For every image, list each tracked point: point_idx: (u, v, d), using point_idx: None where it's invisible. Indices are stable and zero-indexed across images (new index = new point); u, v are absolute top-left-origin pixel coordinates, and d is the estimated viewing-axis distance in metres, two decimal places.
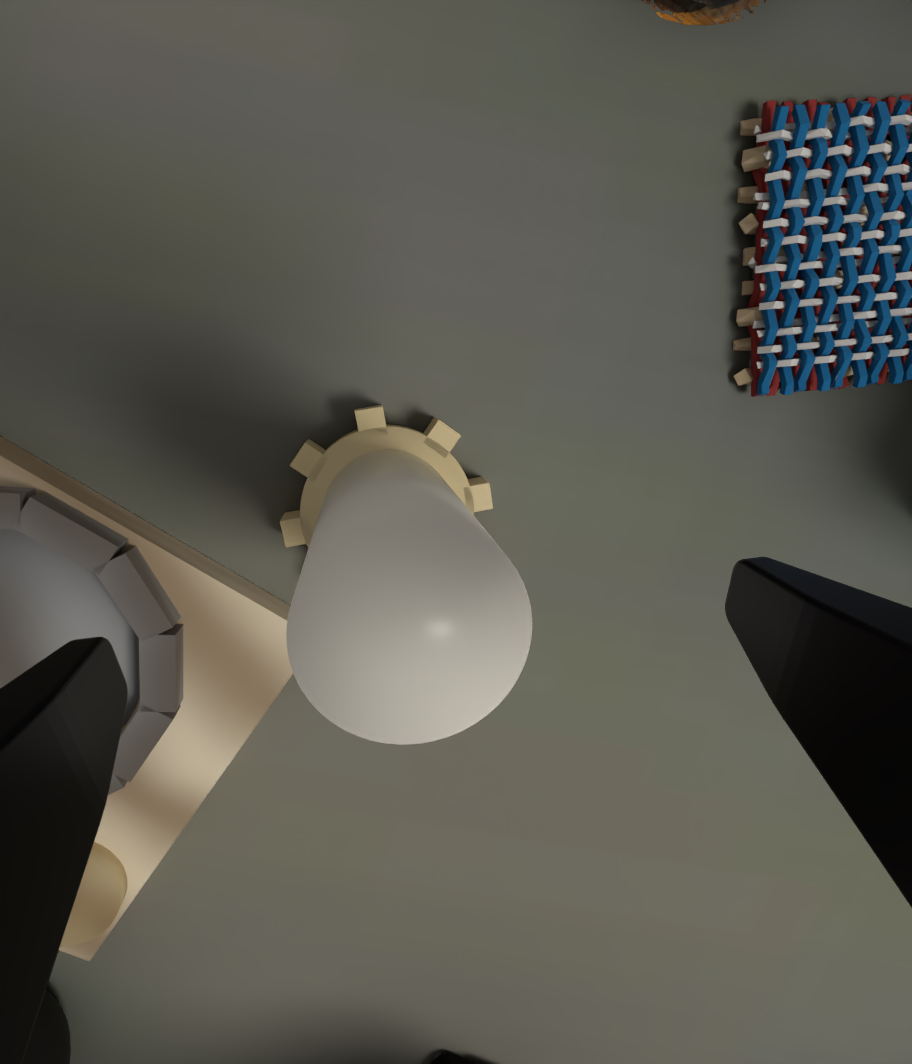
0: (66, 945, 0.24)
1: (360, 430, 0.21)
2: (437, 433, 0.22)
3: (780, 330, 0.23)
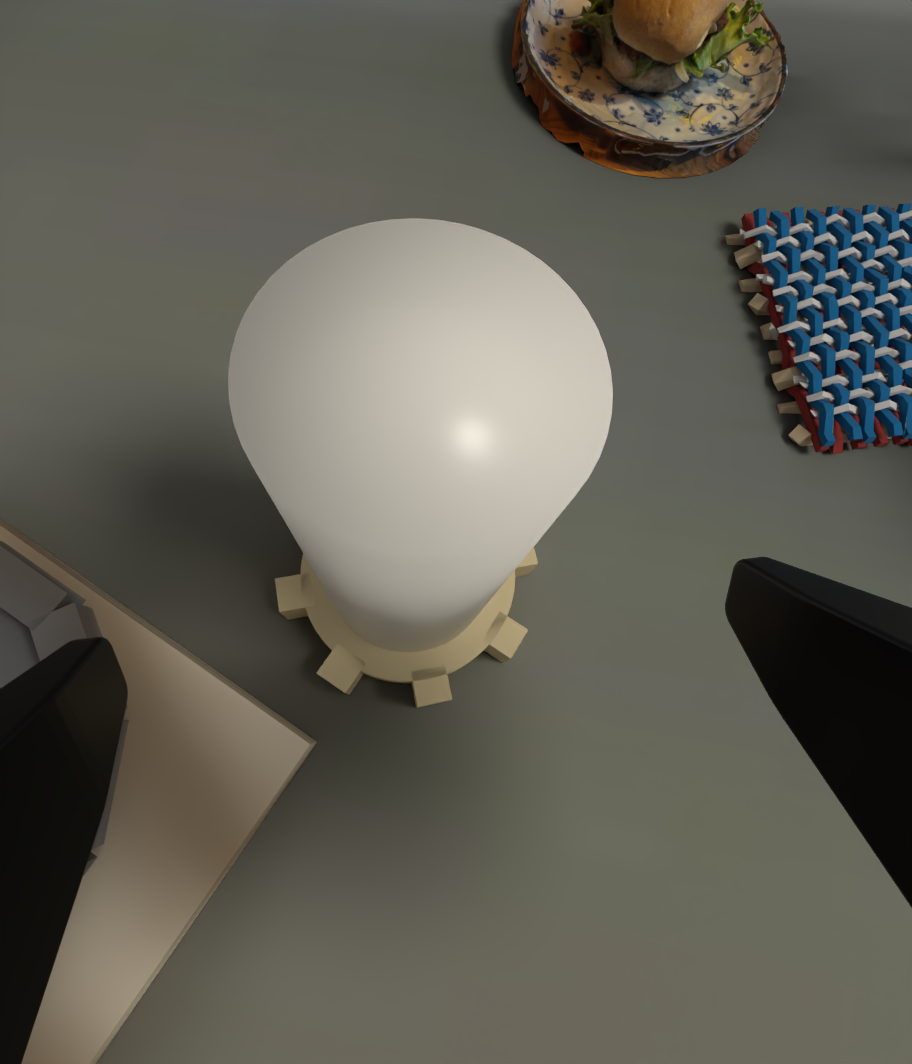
0: None
1: None
2: None
3: (825, 379, 0.22)
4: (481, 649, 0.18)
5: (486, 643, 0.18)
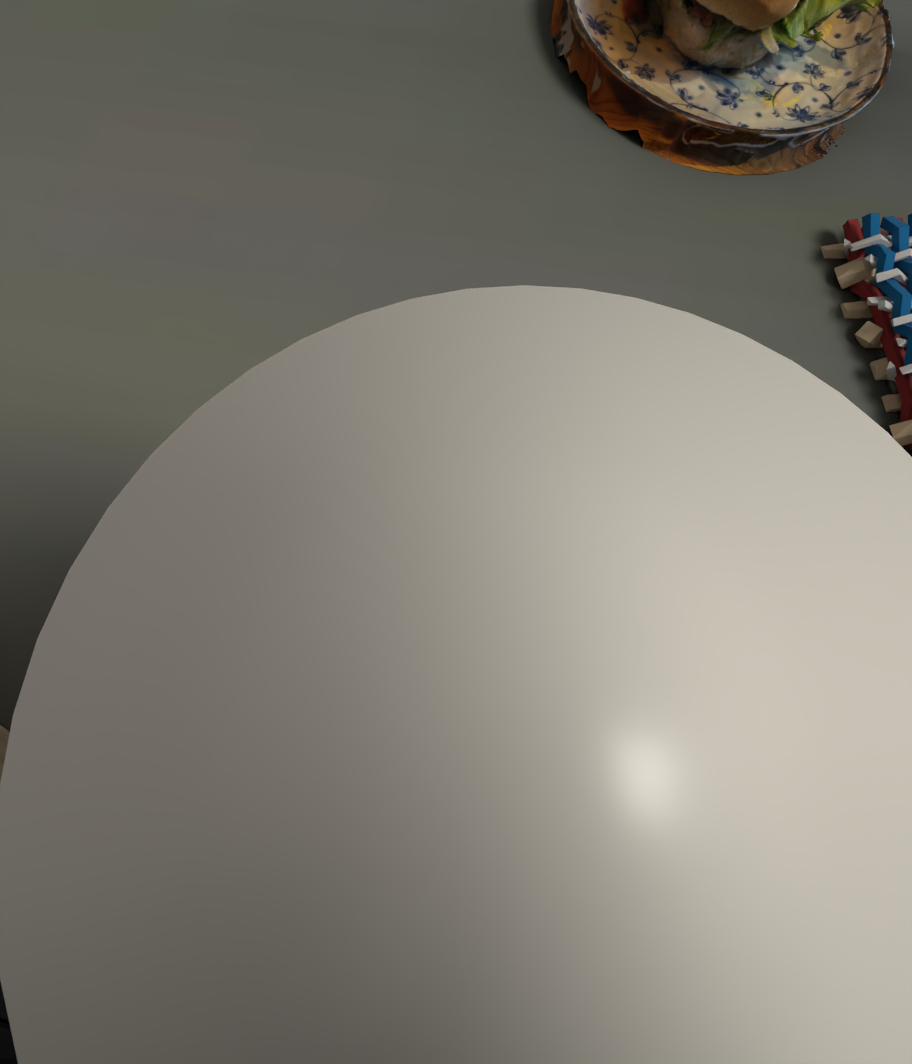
0: None
1: None
2: None
3: None
4: None
5: None
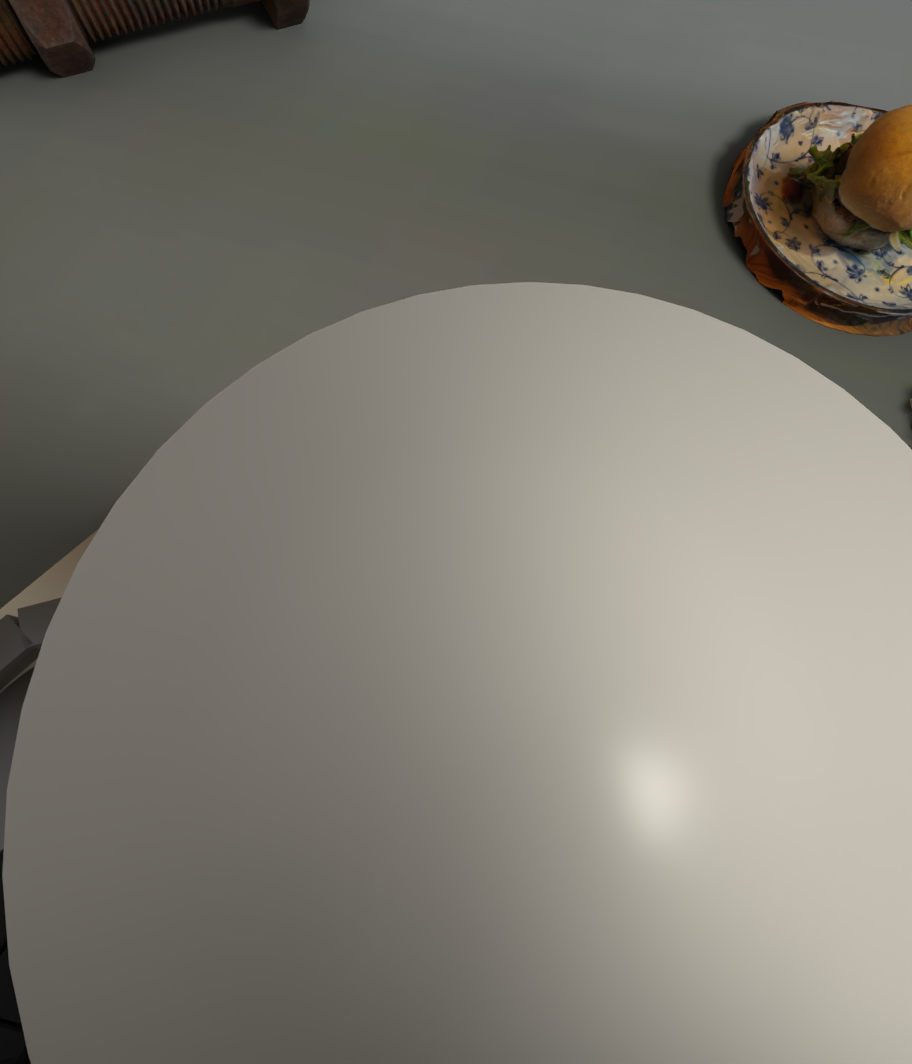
0: None
1: None
2: None
3: None
4: None
5: None
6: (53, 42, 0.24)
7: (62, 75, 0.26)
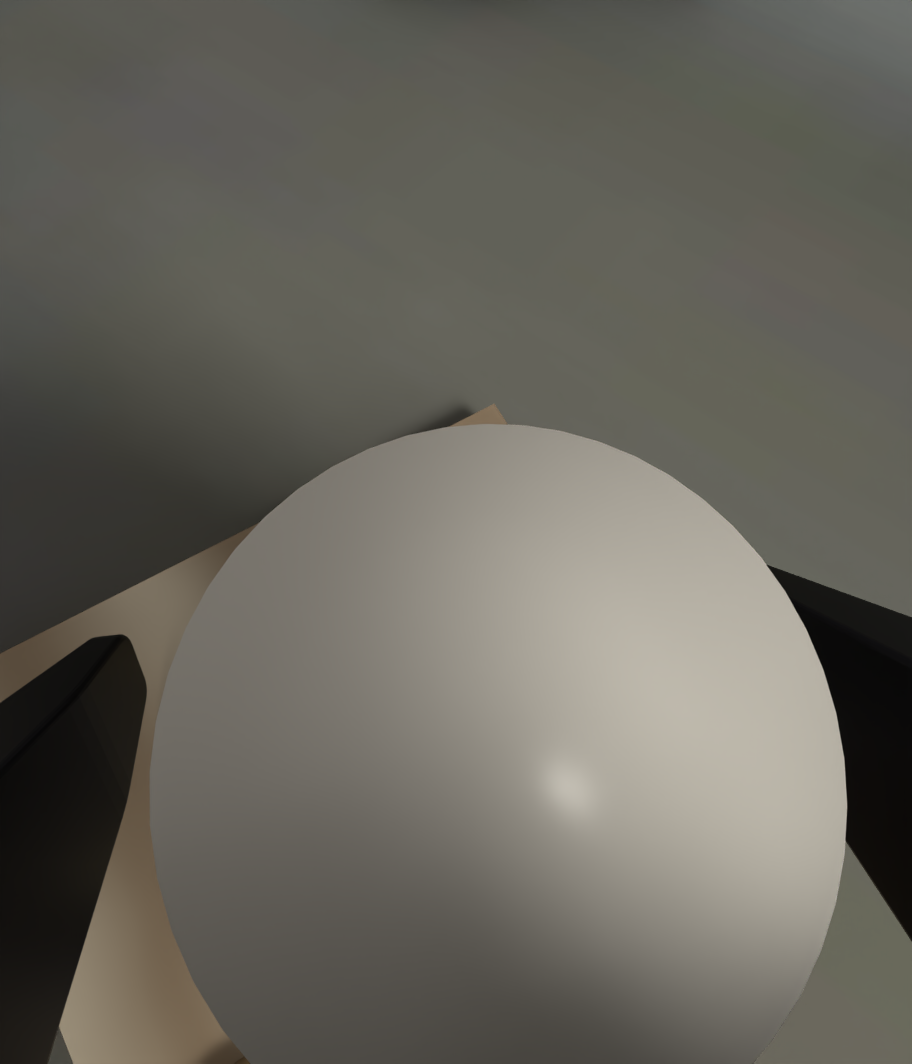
0: None
1: None
2: None
3: None
4: None
5: None
6: None
7: None
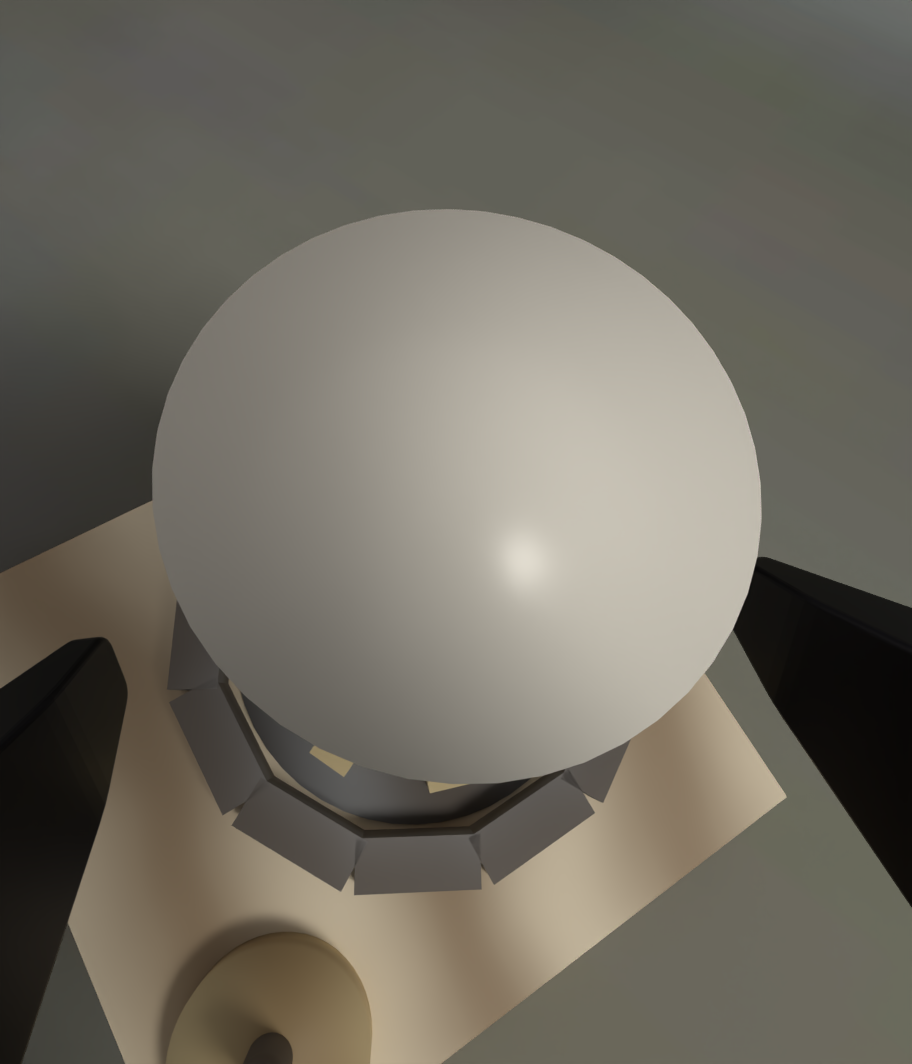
0: None
1: None
2: None
3: None
4: None
5: None
6: None
7: None
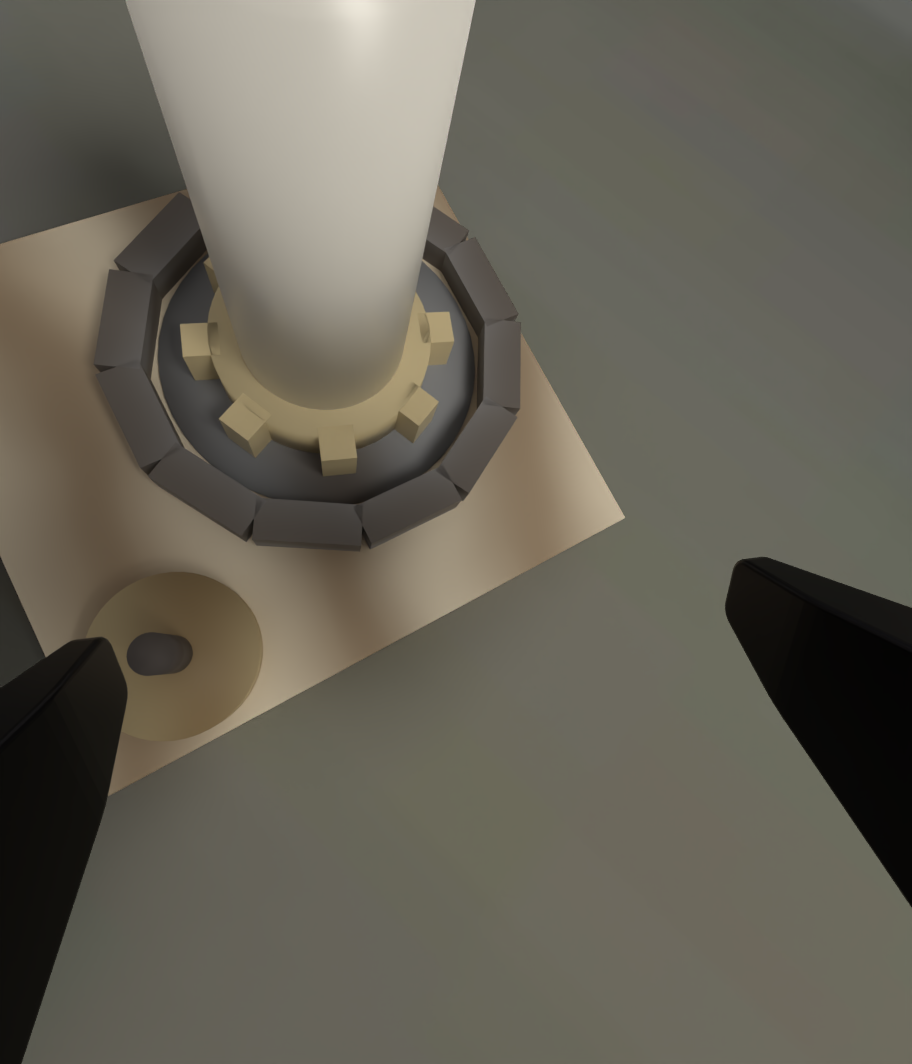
0: (126, 731, 0.15)
1: None
2: None
3: None
4: (390, 414, 0.18)
5: (396, 410, 0.18)
6: None
7: None
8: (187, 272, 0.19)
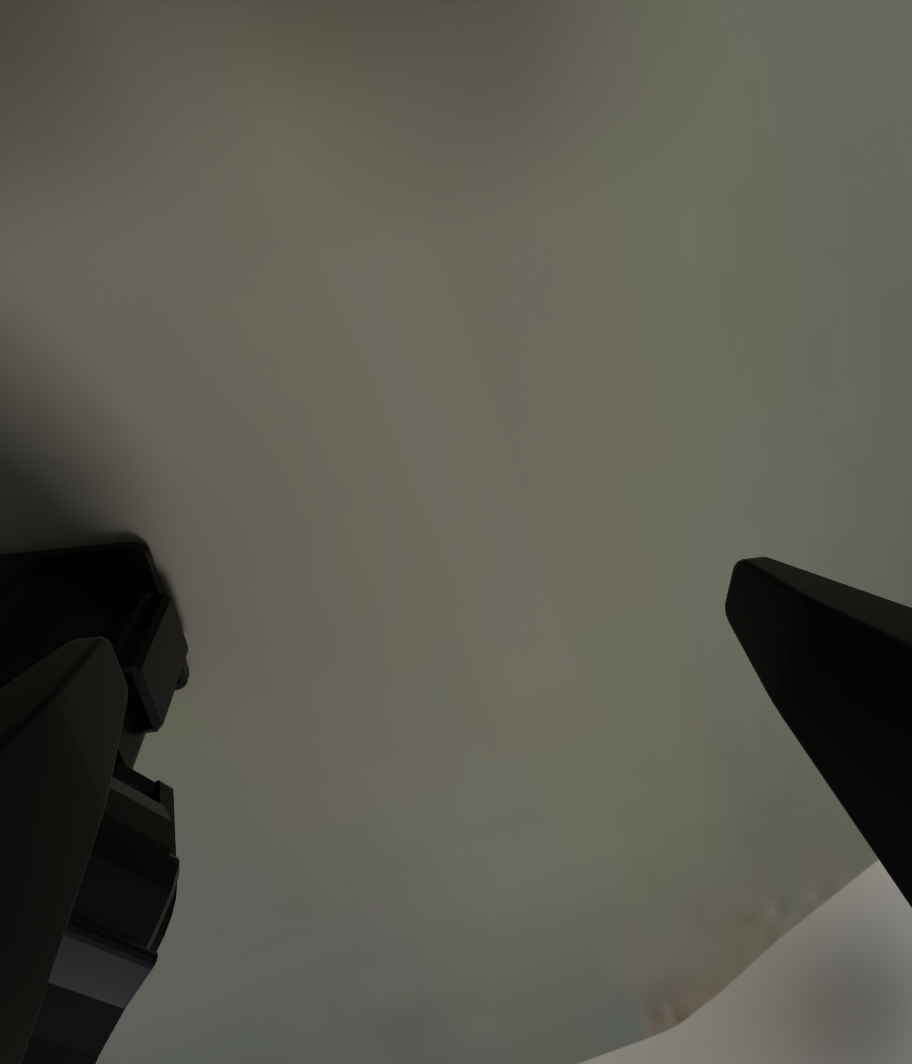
0: None
1: None
2: None
3: None
4: None
5: None
6: None
7: None
8: None
